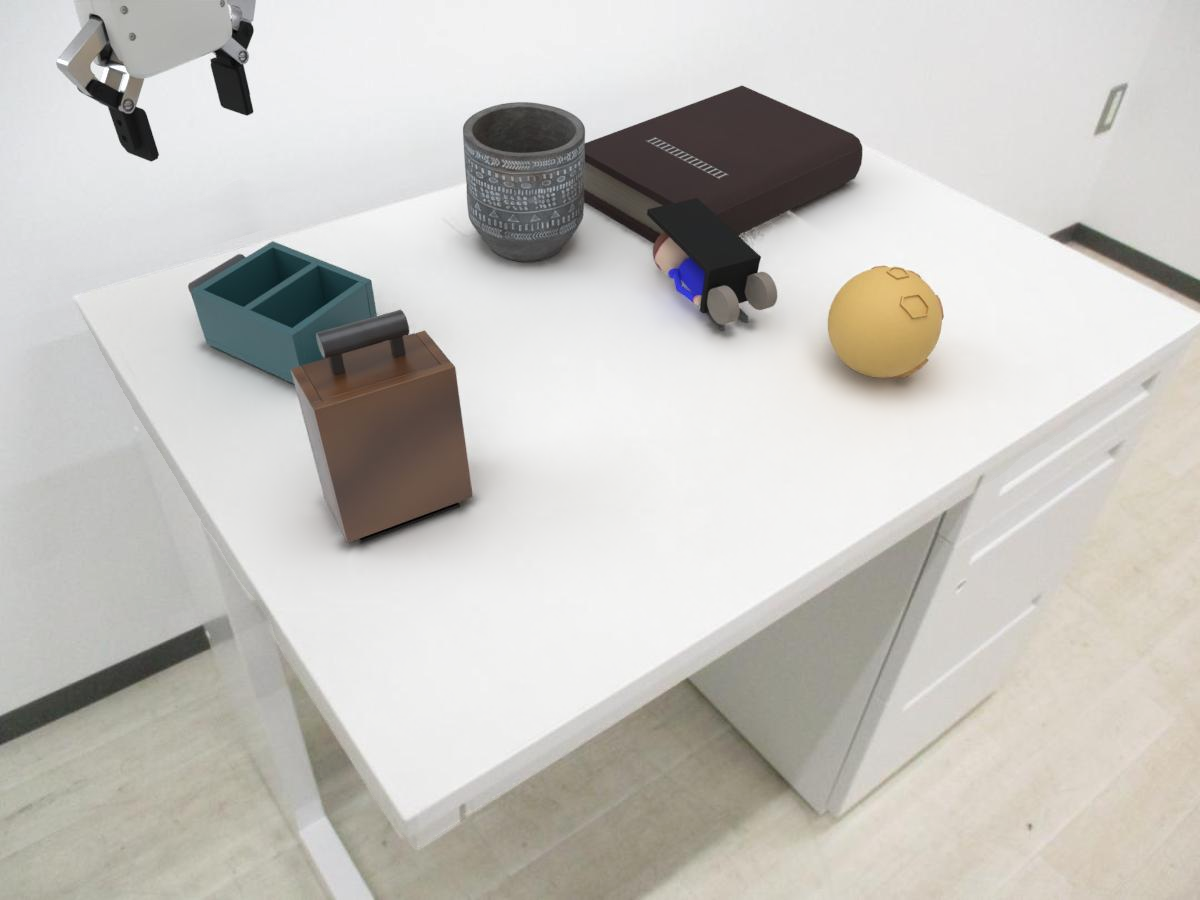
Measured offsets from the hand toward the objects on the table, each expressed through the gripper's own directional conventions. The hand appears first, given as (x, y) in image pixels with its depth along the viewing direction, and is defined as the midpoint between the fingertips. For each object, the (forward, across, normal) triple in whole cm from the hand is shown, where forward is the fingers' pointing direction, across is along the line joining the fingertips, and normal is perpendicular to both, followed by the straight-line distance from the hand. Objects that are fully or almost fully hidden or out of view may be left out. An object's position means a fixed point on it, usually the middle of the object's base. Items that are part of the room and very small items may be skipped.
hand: (192, 132), depth 76 cm
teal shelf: (+19, -1, +4) cm, 19 cm away
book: (+20, -49, +25) cm, 59 cm away
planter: (+20, -28, +13) cm, 36 cm away
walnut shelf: (+11, +11, +29) cm, 32 cm away
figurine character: (+20, -28, +34) cm, 49 cm away
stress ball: (+20, -27, +52) cm, 62 cm away
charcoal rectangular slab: (+19, +10, +26) cm, 34 cm away
